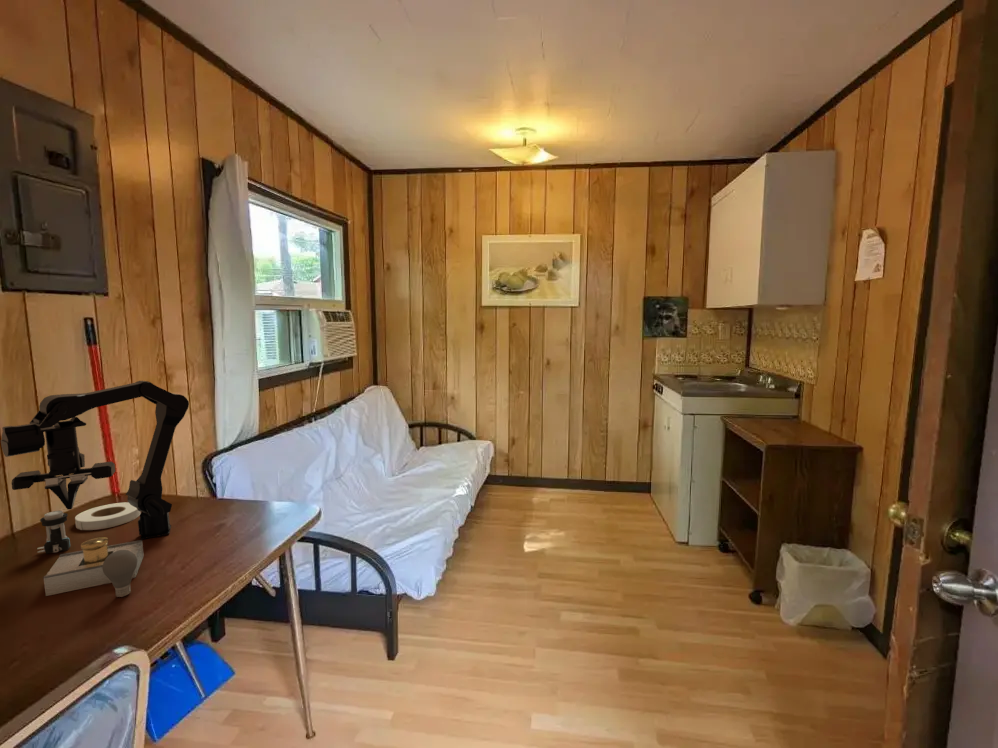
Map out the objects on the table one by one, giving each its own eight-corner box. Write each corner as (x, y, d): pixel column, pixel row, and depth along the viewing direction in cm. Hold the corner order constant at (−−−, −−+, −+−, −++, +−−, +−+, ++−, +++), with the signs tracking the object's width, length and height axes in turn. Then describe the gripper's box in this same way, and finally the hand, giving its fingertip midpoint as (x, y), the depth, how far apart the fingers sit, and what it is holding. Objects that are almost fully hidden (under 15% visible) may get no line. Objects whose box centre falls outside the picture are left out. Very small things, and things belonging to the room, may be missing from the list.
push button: (34, 558, 128) (29, 519, 127) (41, 549, 133) (36, 512, 132) (68, 552, 131) (63, 514, 130) (74, 544, 136) (69, 507, 135)
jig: (143, 556, 128) (141, 539, 128) (135, 577, 118) (133, 559, 117) (62, 571, 121) (60, 554, 121) (45, 596, 110) (43, 577, 110)
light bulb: (135, 585, 114) (130, 542, 113) (144, 594, 111) (139, 550, 109) (102, 596, 110) (97, 552, 109) (110, 606, 106) (105, 560, 105)
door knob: (113, 567, 123) (110, 535, 122) (109, 576, 118) (105, 543, 117) (87, 572, 120) (83, 540, 120) (82, 582, 116) (78, 548, 115)
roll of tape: (105, 510, 160) (104, 501, 160) (152, 510, 160) (151, 501, 160) (61, 531, 145) (60, 521, 145) (113, 531, 144) (112, 521, 144)
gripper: (116, 435, 135) (122, 492, 137) (23, 445, 127) (31, 505, 129) (107, 444, 126) (114, 505, 128) (6, 455, 117) (15, 521, 119)
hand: (70, 508), depth 126 cm, fingers closed
